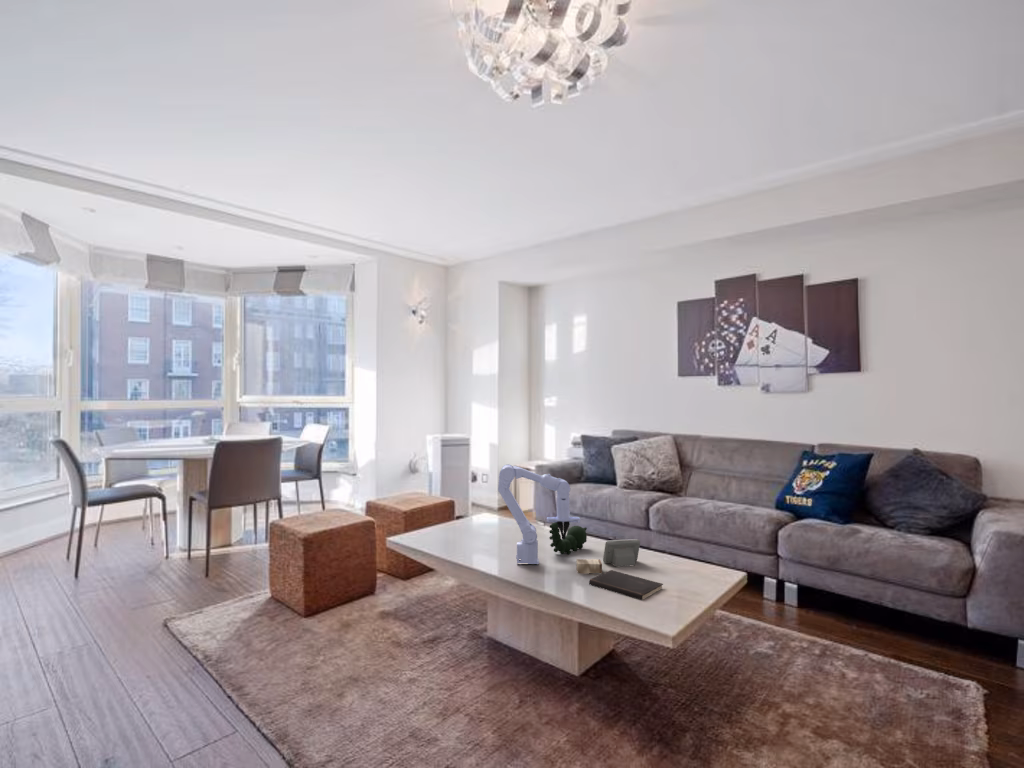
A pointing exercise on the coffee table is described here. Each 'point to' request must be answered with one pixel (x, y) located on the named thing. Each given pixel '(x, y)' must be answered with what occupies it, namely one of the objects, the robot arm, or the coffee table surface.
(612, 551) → the digital clock
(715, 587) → the coffee table surface
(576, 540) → the toy figurine
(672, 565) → the coffee table surface
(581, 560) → the beech block
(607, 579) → the hardcover book
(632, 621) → the coffee table surface
